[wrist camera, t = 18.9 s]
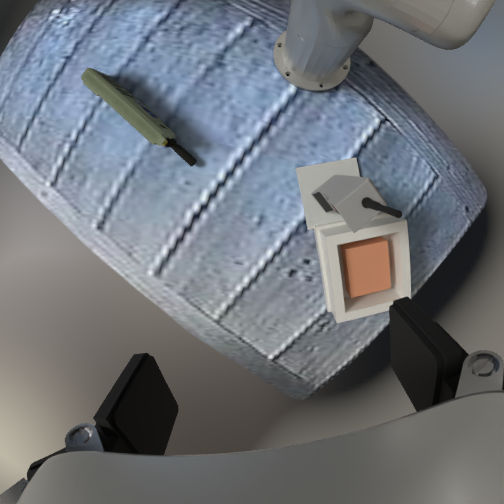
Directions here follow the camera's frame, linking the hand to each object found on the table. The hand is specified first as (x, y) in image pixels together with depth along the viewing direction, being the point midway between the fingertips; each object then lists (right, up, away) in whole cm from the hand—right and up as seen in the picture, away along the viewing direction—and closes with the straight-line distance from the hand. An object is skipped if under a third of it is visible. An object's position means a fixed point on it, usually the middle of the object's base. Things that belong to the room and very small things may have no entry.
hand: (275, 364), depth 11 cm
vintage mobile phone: (+11, +13, +35) cm, 40 cm away
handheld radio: (-19, +27, +34) cm, 47 cm away
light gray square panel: (+12, +14, +36) cm, 40 cm away
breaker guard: (+17, +3, +39) cm, 42 cm away
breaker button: (+17, +2, +36) cm, 40 cm away
